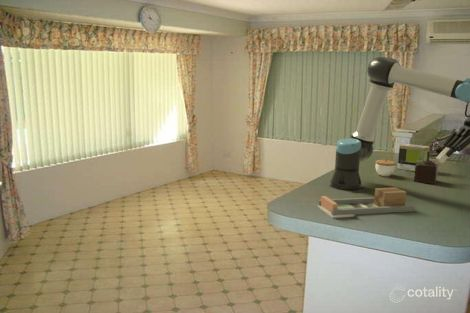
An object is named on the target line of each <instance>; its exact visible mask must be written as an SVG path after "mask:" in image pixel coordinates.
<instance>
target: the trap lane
mask: <svg viewBox="0 0 470 313" xmlns="http://www.w3.org/2000/svg"><path fill="white" fill-rule="evenodd" d="M374 197H375V196H373V197H370V196H369V197H354V198H353V197H349V198H348V197H347V198H333V199H331V198H329V197H328V196H326V195H321V196H320V199H318V200H317V208H319V209H320V210H321V211H322V212H324V213H326V214H327V215H328V216H329V217H330V218H333V219H335V218H338V219H339V218H352V217H354V218H356V217H357V215H366V214H368V215H369V214H382V213H383V214H384V213H386V214H387V213H401V212H402V213H403V212H415V211H416V210H415V209H416V206H415V204H414V205H413V204H410V205H409V204H408V205H406V204H405V205H404V206H385V207H378V206H376V205H374Z"/></svg>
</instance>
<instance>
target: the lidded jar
mask: <svg viewBox="0 0 470 313" xmlns="http://www.w3.org/2000/svg"><path fill="white" fill-rule="evenodd" d="M396 164H397V163H396V161H392V160H388V159H387V158H384V159H378V160H375V166H374V168H375V171H376V173H377V175H378V176H380V175H381V177H390V176H392V175H393V173H394V172H395V170H396Z"/></svg>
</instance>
